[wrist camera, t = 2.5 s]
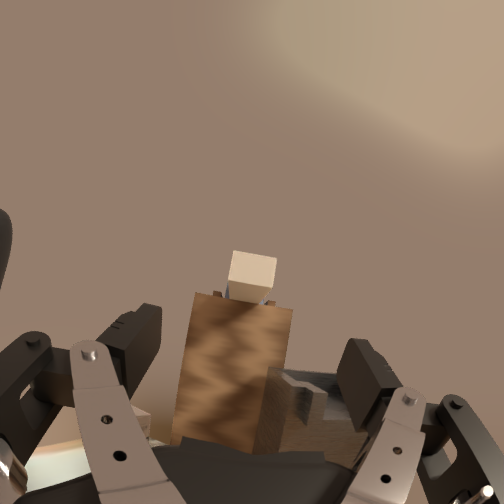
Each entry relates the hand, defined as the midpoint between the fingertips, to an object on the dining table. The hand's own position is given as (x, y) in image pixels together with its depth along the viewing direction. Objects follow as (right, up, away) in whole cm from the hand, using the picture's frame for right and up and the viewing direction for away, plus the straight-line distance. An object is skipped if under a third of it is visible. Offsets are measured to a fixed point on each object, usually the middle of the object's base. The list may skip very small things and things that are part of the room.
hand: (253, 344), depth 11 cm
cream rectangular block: (-1, -2, +21) cm, 22 cm away
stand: (-7, -34, +18) cm, 39 cm away
